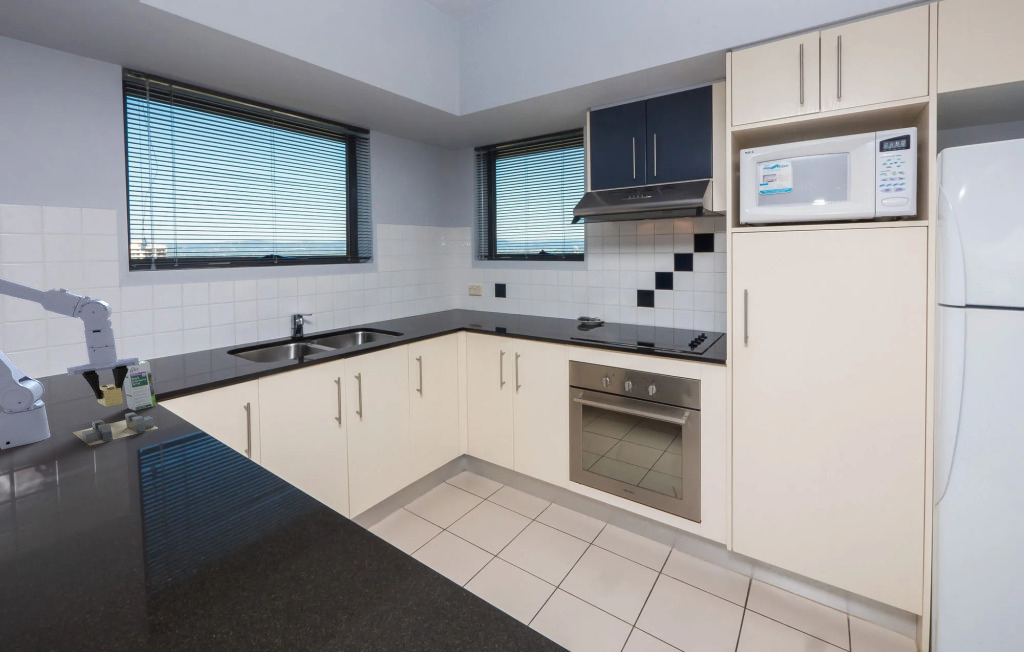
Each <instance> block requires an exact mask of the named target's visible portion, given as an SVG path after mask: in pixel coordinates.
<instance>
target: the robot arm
mask: <svg viewBox="0 0 1024 652" xmlns="http://www.w3.org/2000/svg"><path fill="white" fill-rule="evenodd" d="M0 295H4V296H8V297H13V298H18V299H21V300H26V301H30V302H34V303H38V304H40V305H41V306H42V308H43V309H44V310H45V311H48V312H51V313H56V314H58V315H64V316H67V317H69V318H73V319H78V318H80V320H81V321H83V327H84V335H85V343H86V349H87V356H88V362H89V363H87V364H82V365H75V366H70V367H66V371H67V376H69V377H73V376H76V375H81V376H82V377H83V378H84V379H85V381H86V382H87V383H88V384H89V386H90V387H91V389H92V391H93V393H94V395H95V398H96V399H102V395H101V391H100V386H101V385H100V375H99V374H98V373H97V372H100V371H106V370H107V371H108V370H111V371H112V375H113V380H114V385H115V386H118V387H120V388H121V392H122V393H123V388H124V387H123V386H124V379H125V377H126V375H127V373H128V368H127V366H133V365H134V366H135V365H139V358H138V357H129V358H121V359H118V353H117V348H116V342H115V341H116V340H115V334H114V328H113V325H112V319H111V318H110V317H111V316H112V313H113V311H112V306H111V305H110V304H109V303H107V302H106V301H104V300H102V299H99V298H98V299H97V298H95V299H91V298H92V296H89V295H84V296H83V295H79V294H76V293H73V292H69V289H67V288H65V287H63V288H62V287H61V288H60V289H58V288H52V289H49V290H48V291H46V290H43V289H40V288H36V287H32V286H30V285H26V284H24V283H20V282H16V281H14V280H10V279H6V278H3V277H0ZM44 395H45V386H44V384H43V383H42V382H41V381H39V380H37V379H35V378H32V377H31V376H30V375H29V374H28V373H27V372H25V371H24V370H21V369H20V368H18V367H17V366H16V365H15V364H14V363H13V362H12V361H11V360H10V358H9V357H8V356H7V355H6V354H5V352H3V351H2V349H0V406H1V408H3V412H0V449H1V450H5V449H6V450H7V449H10V448H14V447H19V446H23V445H30V444H34V443H37V442H41V441H43V440H44V441H45V440H47V439H48V438H50V437H51V432H50V426H49V422H48V415H47V411H46V405H45V402H44V401H43V400H42V399H41V398H42V397H44Z"/></svg>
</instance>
